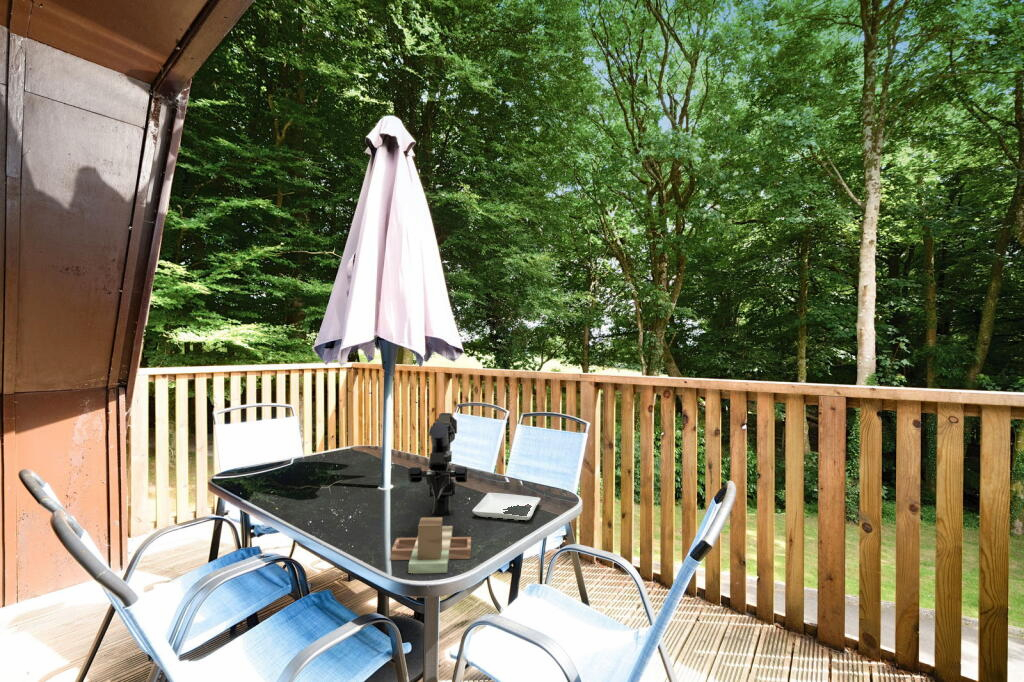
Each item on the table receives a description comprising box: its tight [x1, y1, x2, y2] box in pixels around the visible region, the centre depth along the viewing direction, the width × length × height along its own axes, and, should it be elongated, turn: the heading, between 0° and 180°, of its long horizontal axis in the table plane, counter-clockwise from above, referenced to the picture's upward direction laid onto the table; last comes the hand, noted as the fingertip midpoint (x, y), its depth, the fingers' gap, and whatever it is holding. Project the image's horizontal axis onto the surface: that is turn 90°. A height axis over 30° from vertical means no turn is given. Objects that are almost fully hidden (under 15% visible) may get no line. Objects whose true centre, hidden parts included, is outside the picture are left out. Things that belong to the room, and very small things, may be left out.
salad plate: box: [472, 492, 541, 521], centre depth 169 cm, size 21×21×3 cm
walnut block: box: [417, 516, 443, 560], centre depth 126 cm, size 6×6×9 cm
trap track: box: [390, 525, 472, 574], centre depth 134 cm, size 26×22×2 cm
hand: (436, 499), depth 143 cm, fingers closed
